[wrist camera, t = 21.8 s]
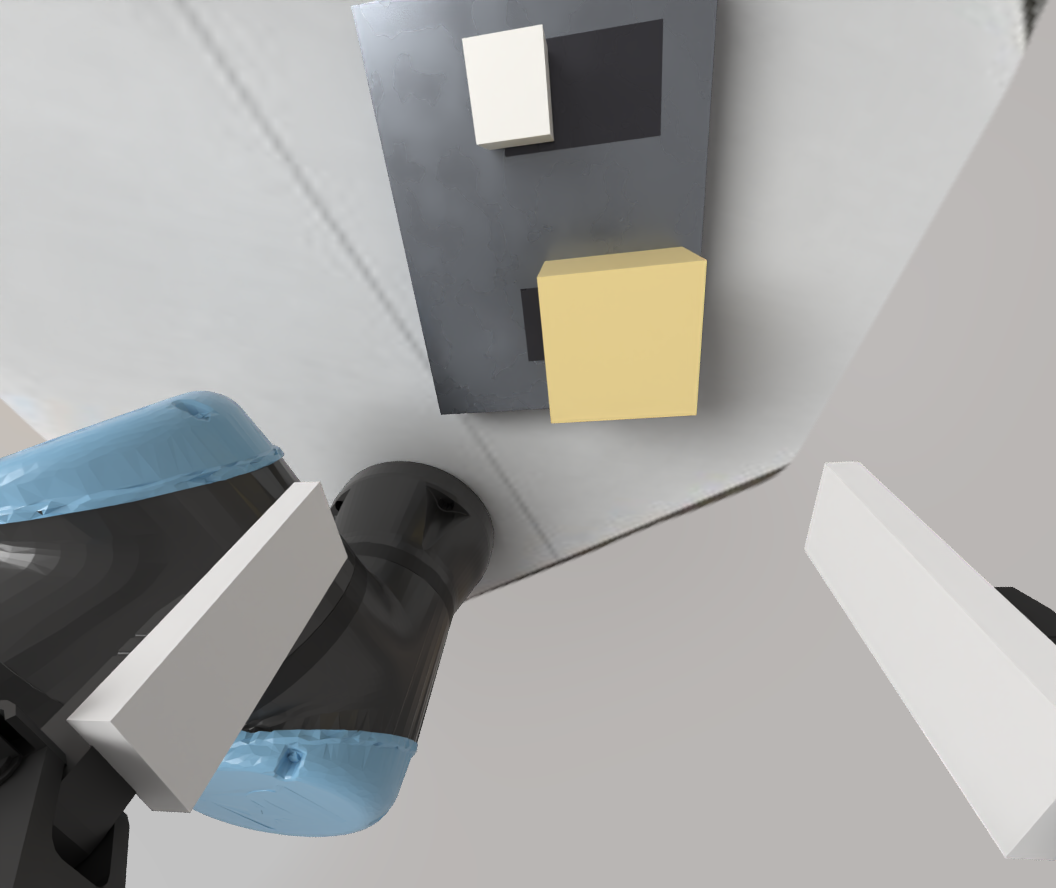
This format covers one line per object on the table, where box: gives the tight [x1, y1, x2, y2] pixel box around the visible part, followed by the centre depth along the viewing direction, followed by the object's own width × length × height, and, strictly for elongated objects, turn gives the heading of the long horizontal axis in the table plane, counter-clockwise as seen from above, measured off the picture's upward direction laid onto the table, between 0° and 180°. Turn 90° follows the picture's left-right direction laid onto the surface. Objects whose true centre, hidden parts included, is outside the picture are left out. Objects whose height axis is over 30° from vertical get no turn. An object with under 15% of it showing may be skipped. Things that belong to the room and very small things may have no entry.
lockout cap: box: [537, 247, 707, 423], centre depth 27 cm, size 8×8×6 cm
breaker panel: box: [351, 0, 717, 415], centre depth 29 cm, size 23×18×3 cm
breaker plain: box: [462, 24, 554, 150], centre depth 23 cm, size 4×4×4 cm
